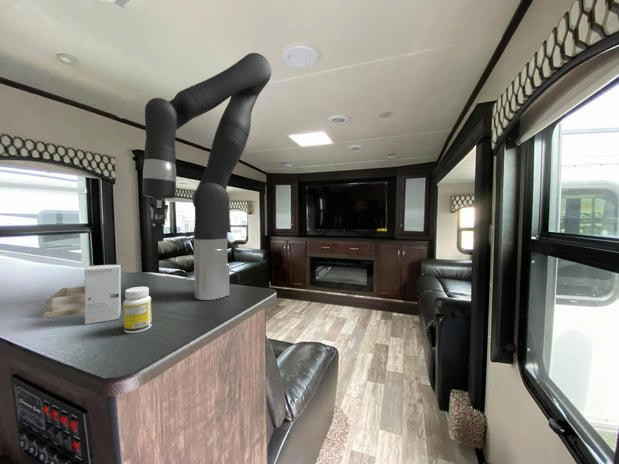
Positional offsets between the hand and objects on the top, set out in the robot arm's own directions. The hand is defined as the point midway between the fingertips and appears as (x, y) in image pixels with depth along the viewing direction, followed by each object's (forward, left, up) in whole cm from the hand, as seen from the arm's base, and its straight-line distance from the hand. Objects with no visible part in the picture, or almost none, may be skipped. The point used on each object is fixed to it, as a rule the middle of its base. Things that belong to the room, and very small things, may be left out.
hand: (158, 240), depth 66 cm
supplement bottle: (+4, +16, -17) cm, 24 cm away
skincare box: (+11, +6, -17) cm, 21 cm away
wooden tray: (+17, -7, -17) cm, 25 cm away
